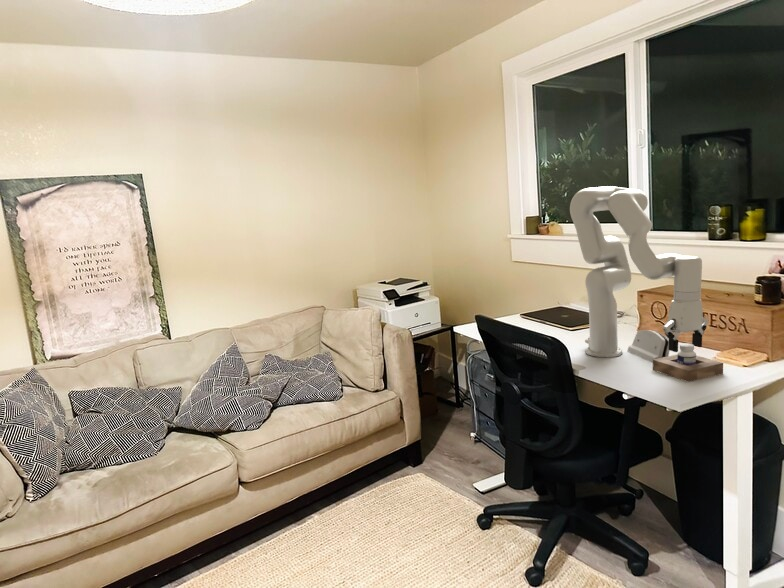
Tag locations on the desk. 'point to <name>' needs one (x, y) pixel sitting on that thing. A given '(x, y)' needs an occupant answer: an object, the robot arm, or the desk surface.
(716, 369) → the socket block
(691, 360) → the pill bottle
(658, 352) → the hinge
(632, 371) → the desk surface
